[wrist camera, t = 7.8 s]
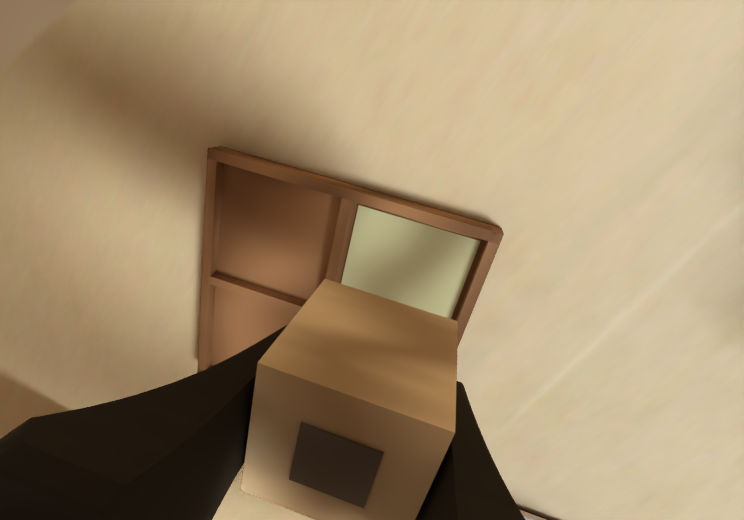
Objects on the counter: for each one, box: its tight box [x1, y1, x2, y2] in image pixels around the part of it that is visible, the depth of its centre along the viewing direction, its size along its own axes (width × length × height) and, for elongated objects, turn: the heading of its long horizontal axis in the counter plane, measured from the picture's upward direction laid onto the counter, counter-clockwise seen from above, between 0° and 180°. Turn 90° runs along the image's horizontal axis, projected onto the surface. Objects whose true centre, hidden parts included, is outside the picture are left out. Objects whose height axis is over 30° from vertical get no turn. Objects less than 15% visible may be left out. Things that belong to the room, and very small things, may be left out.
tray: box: [198, 146, 504, 373], centre depth 21 cm, size 14×14×1 cm
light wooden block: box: [241, 279, 458, 520], centre depth 11 cm, size 4×4×5 cm
